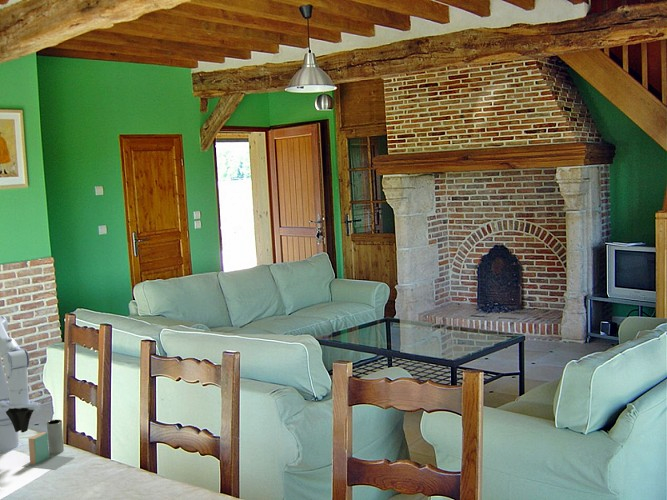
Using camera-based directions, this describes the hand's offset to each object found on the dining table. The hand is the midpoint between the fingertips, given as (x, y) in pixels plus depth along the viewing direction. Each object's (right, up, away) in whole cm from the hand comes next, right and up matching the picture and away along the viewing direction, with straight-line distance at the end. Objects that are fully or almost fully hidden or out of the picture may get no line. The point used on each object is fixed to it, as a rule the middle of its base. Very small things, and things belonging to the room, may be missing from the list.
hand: (21, 431), depth 233 cm
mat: (+10, -9, -3) cm, 14 cm away
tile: (+6, -9, -1) cm, 11 cm away
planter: (+9, -9, +7) cm, 14 cm away
